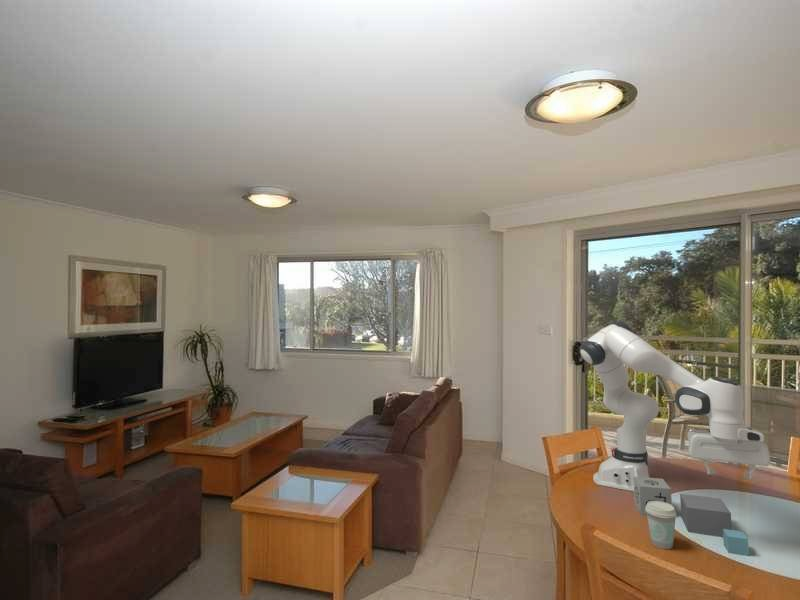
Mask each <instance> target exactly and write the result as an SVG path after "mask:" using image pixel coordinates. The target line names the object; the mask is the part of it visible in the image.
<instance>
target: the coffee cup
mask: <svg viewBox="0 0 800 600" xmlns="http://www.w3.org/2000/svg"><path fill="white" fill-rule="evenodd" d="M645 510H646V512H647V515H646V518H647V523H648V530H649V536H650V543H651V544H652V545H653V546H655V548H659V549H662V550H671V549H673V548H674V540H675V528H676V517H677V516H678V514H677V511H676V508H675V507H674V506H673V504H672V505H670V504H668V503H665V502H661V501H650V502H648V503H647V505H646V508H645Z"/></svg>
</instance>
